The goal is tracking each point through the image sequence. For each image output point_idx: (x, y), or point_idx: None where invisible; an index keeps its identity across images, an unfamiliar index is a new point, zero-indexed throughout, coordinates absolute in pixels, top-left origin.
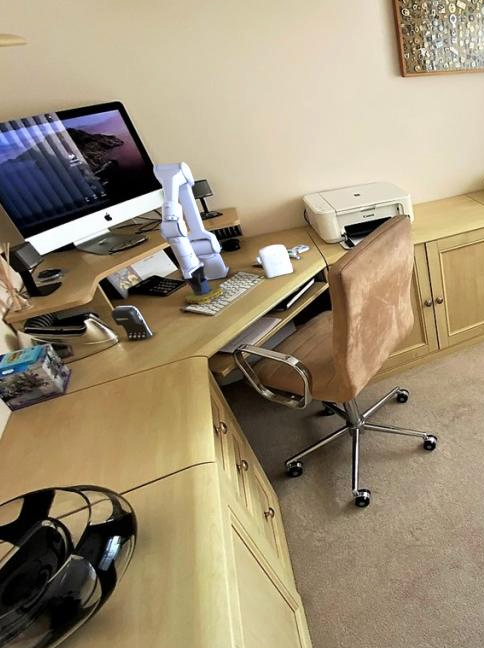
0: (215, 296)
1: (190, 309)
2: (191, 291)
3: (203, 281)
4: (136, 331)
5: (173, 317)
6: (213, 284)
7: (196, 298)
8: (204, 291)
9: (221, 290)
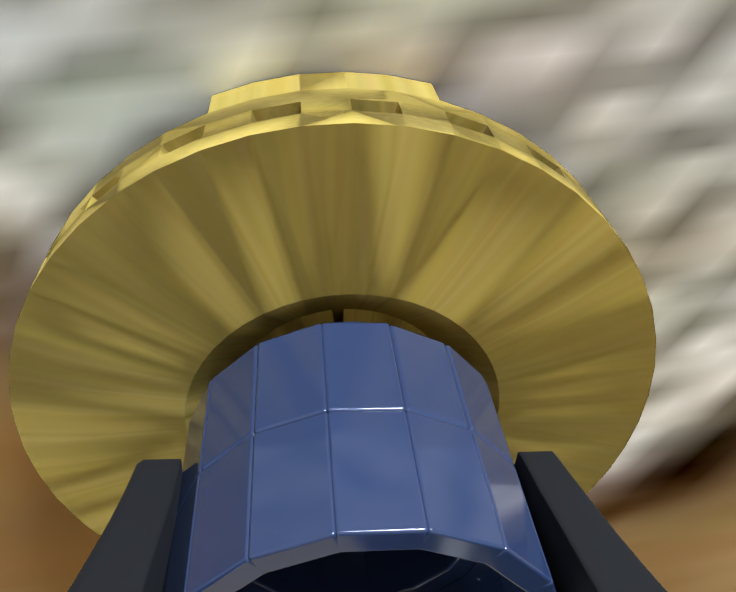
0: (582, 190)
1: (659, 442)
2: None
3: (488, 563)
4: None
5: (732, 542)
6: (35, 301)
7: (580, 457)
8: (491, 407)
9: (349, 102)
